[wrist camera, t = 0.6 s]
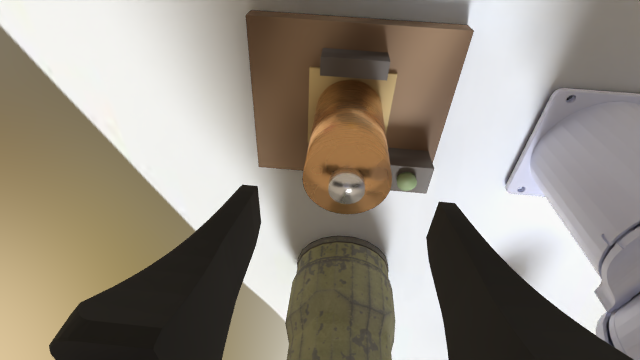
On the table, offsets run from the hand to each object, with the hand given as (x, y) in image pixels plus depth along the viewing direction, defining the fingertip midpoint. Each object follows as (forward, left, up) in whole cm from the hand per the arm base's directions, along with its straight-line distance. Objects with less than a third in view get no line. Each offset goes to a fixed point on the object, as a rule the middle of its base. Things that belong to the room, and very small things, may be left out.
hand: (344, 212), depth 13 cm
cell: (0, 0, -9) cm, 9 cm away
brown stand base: (0, 0, -10) cm, 10 cm away
